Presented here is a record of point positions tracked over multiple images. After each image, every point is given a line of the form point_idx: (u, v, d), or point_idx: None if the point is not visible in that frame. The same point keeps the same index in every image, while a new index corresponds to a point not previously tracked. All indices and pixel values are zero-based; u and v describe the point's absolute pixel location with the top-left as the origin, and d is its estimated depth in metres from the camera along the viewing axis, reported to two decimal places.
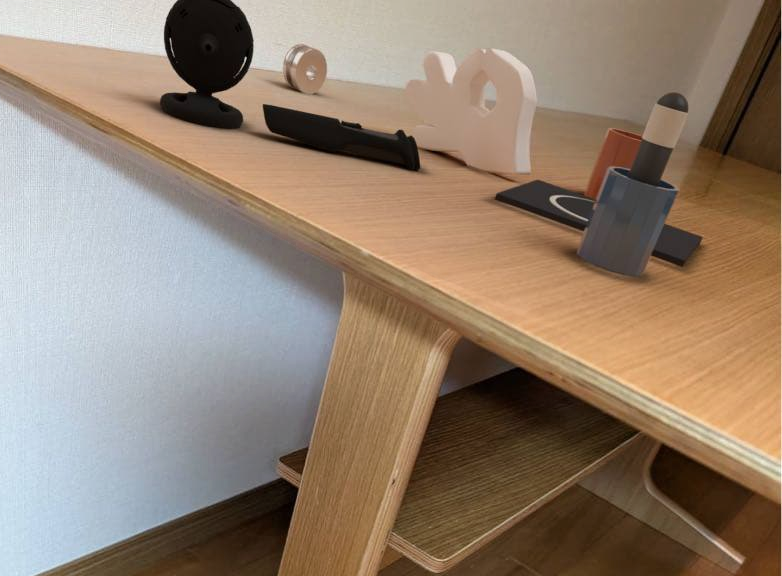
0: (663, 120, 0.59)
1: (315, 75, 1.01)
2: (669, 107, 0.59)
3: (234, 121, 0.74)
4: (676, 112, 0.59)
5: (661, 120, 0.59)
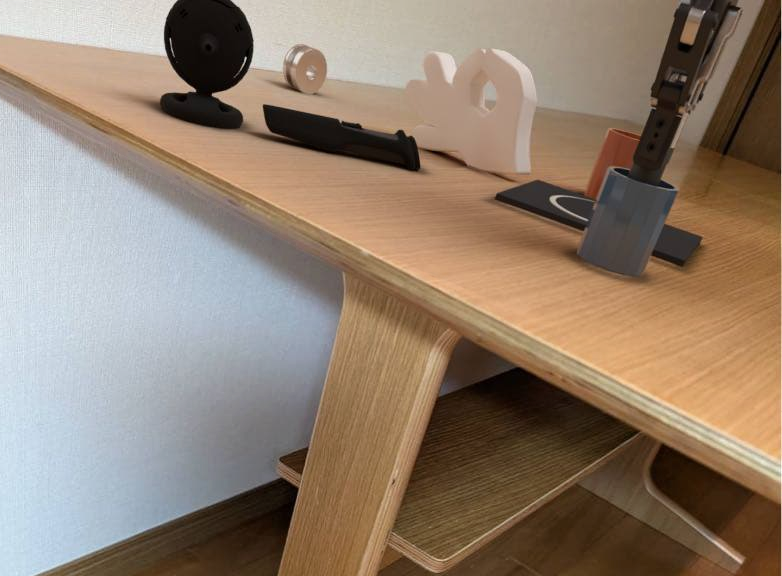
0: None
1: (315, 75, 1.01)
2: None
3: (234, 121, 0.74)
4: None
5: None
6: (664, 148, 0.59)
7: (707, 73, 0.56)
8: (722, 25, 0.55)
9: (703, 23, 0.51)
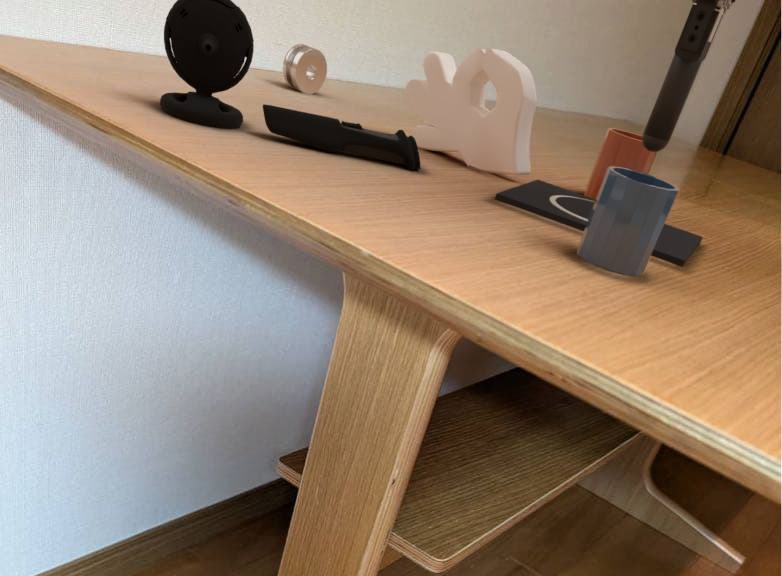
0: None
1: (315, 75, 1.01)
2: None
3: (234, 121, 0.74)
4: None
5: None
6: (703, 40, 0.67)
7: None
8: None
9: None
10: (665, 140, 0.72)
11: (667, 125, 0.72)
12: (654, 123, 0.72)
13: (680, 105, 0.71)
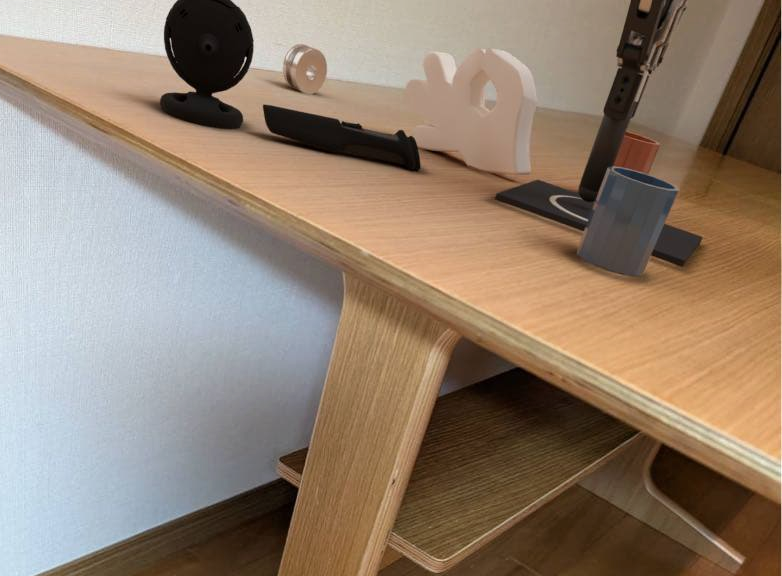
0: None
1: (315, 75, 1.01)
2: None
3: (234, 121, 0.74)
4: None
5: None
6: (629, 101, 0.71)
7: (662, 37, 0.68)
8: None
9: None
10: None
11: (600, 178, 0.76)
12: (588, 176, 0.76)
13: (612, 159, 0.75)
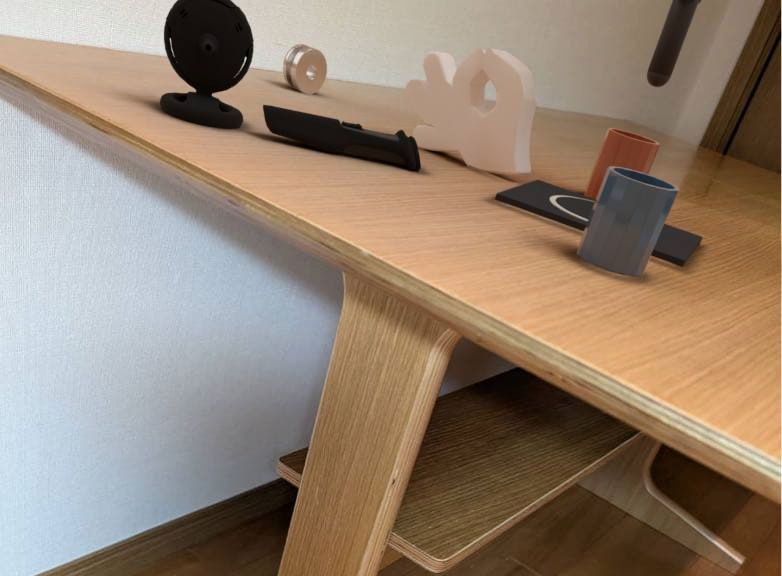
0: None
1: (315, 75, 1.01)
2: None
3: (234, 121, 0.74)
4: None
5: None
6: None
7: None
8: None
9: None
10: (667, 75, 0.82)
11: (669, 61, 0.81)
12: (657, 60, 0.81)
13: (680, 42, 0.80)
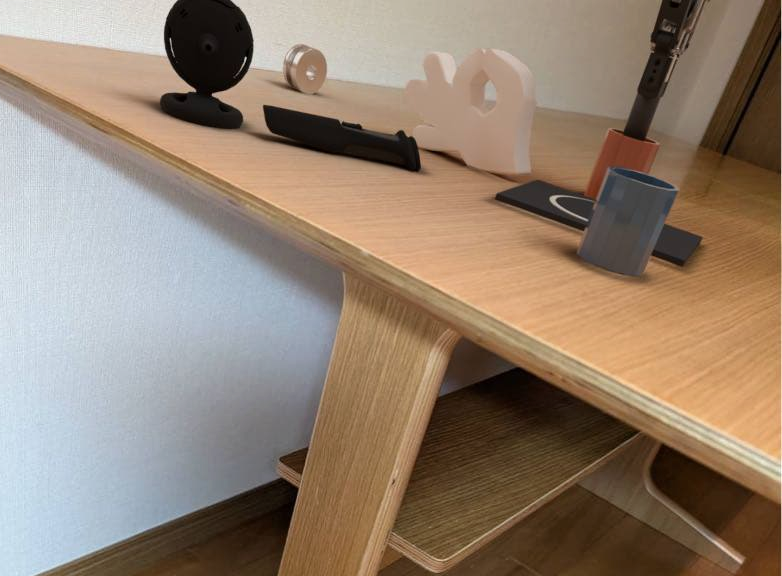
0: None
1: (315, 75, 1.01)
2: None
3: (234, 121, 0.74)
4: None
5: None
6: (660, 81, 0.81)
7: (691, 25, 0.78)
8: None
9: None
10: None
11: None
12: None
13: (644, 134, 0.85)
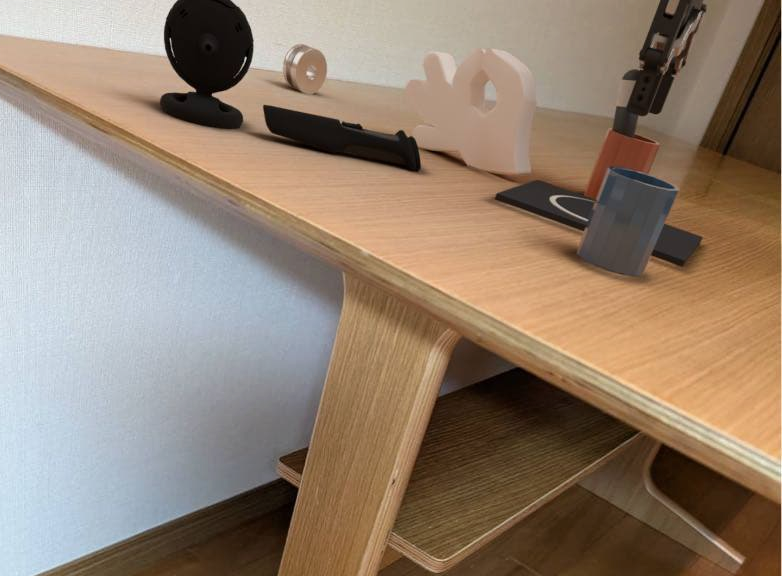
0: (628, 89, 0.83)
1: (315, 75, 1.01)
2: (631, 79, 0.83)
3: (234, 121, 0.74)
4: None
5: (627, 90, 0.83)
6: (649, 99, 0.80)
7: (681, 45, 0.77)
8: None
9: None
10: None
11: None
12: None
13: None
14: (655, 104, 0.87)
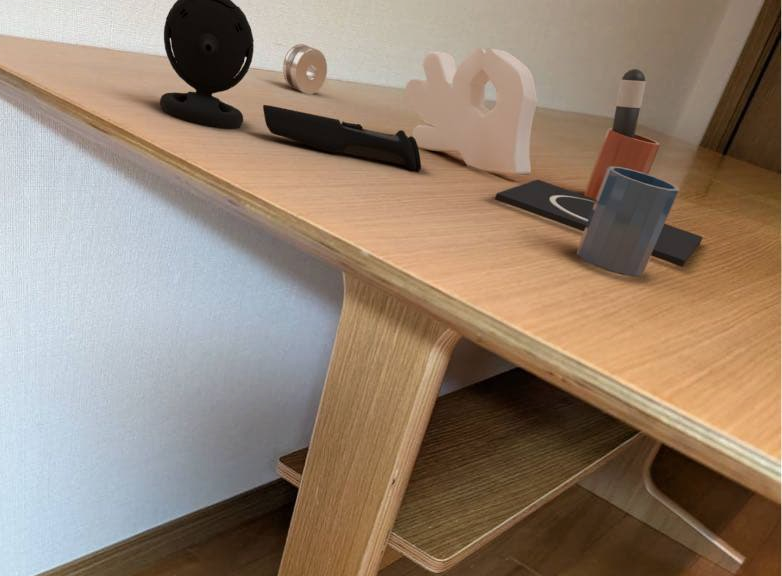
0: (628, 89, 0.83)
1: (315, 75, 1.01)
2: (631, 79, 0.83)
3: (234, 121, 0.74)
4: (636, 82, 0.83)
5: (627, 90, 0.83)
6: None
7: None
8: None
9: None
10: None
11: None
12: None
13: None
14: None
